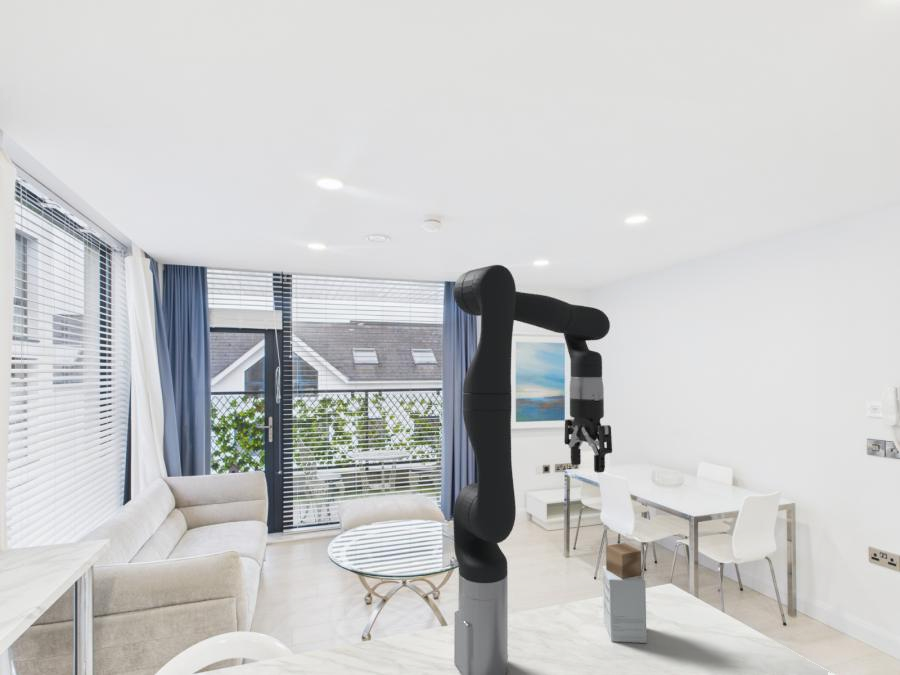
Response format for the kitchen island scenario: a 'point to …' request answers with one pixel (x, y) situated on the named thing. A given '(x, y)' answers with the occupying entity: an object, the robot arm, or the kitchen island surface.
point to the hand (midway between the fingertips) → (587, 468)
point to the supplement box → (624, 607)
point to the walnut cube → (623, 560)
